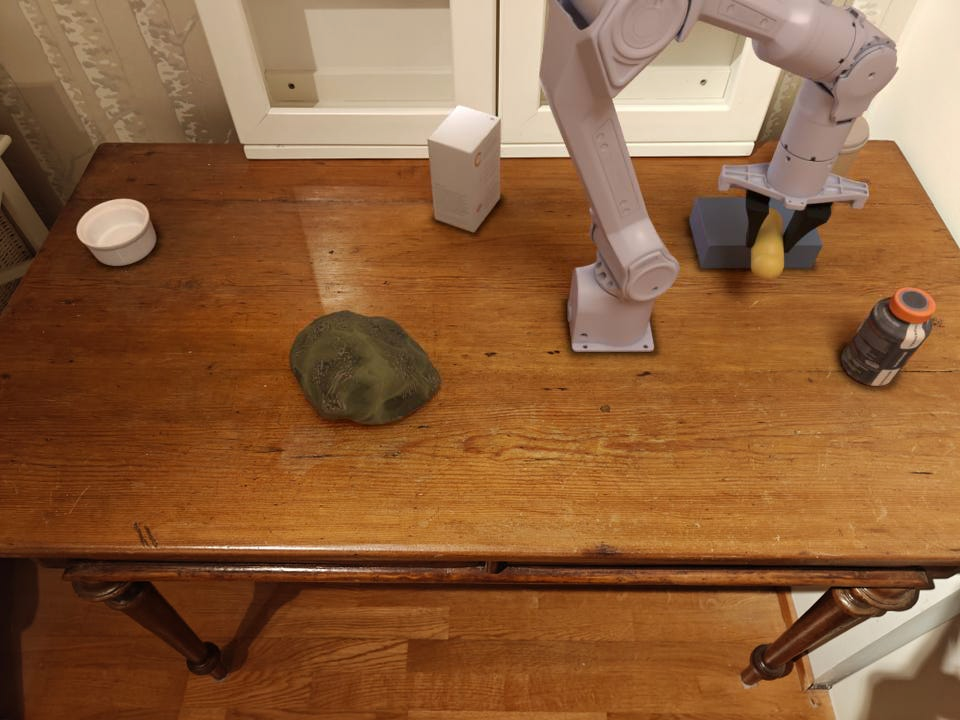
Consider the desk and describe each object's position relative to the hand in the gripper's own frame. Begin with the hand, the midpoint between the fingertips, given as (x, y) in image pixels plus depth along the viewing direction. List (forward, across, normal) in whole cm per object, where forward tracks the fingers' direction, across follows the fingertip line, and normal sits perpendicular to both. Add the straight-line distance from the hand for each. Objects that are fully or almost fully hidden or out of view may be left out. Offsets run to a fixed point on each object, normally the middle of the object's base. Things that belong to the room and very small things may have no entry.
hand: (766, 244), depth 80 cm
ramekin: (+8, -80, -9) cm, 80 cm away
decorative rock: (+8, -42, -23) cm, 48 cm away
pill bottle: (+9, +14, -8) cm, 18 cm away
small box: (+9, -37, +8) cm, 39 cm away
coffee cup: (+9, +7, +20) cm, 23 cm away
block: (+8, 0, +9) cm, 13 cm away
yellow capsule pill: (0, 0, 0) cm, 0 cm away
